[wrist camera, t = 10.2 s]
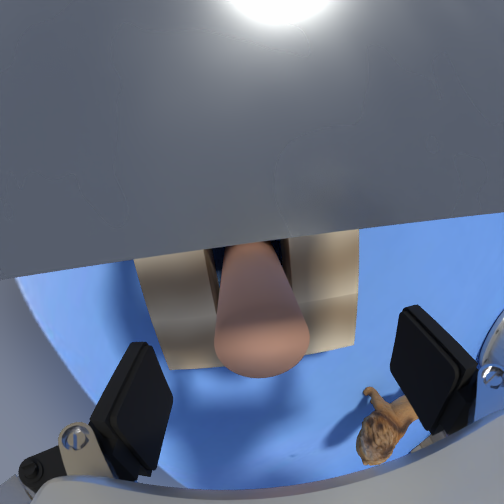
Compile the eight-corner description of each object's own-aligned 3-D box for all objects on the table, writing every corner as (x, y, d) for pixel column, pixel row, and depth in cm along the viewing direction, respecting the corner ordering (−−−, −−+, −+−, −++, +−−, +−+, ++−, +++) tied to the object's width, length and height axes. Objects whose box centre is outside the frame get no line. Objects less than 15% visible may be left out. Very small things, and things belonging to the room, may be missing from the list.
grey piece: (339, 168, 19) (550, 207, 3) (136, 196, 18) (-56, 289, 3) (328, 85, 17) (496, -19, 1) (125, 112, 16) (-62, 56, 1)
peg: (275, 271, 21) (310, 370, 10) (228, 278, 21) (223, 382, 10) (270, 225, 20) (308, 295, 9) (221, 232, 20) (205, 310, 9)
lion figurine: (348, 421, 28) (369, 475, 19) (334, 403, 26) (357, 465, 18) (443, 360, 26) (480, 403, 18) (440, 335, 25) (484, 380, 16)
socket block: (337, 318, 23) (353, 344, 19) (178, 339, 22) (169, 369, 19) (331, 149, 18) (353, 146, 14) (139, 174, 18) (116, 178, 14)
